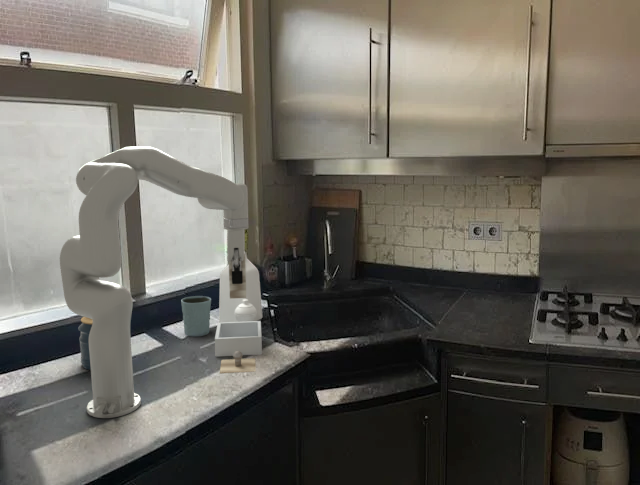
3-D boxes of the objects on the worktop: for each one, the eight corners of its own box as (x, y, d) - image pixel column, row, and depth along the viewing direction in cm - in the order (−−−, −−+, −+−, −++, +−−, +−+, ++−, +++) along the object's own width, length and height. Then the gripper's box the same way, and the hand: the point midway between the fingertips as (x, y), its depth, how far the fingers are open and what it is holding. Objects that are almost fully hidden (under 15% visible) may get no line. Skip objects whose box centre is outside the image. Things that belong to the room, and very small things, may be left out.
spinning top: (254, 328, 193) (253, 296, 191) (259, 335, 186) (258, 301, 184) (233, 330, 190) (232, 297, 188) (237, 337, 183) (236, 303, 181)
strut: (229, 298, 165) (228, 257, 163) (230, 294, 170) (229, 254, 168) (246, 297, 166) (245, 256, 164) (246, 293, 171) (245, 253, 169)
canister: (82, 358, 165) (78, 302, 162) (127, 352, 169) (123, 298, 167) (79, 374, 153) (75, 314, 150) (128, 367, 157) (124, 309, 155)
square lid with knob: (255, 376, 151) (255, 356, 150) (219, 378, 150) (219, 358, 149) (255, 362, 161) (255, 344, 160) (221, 364, 160) (221, 345, 159)
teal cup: (177, 335, 185) (175, 302, 183) (191, 326, 195) (189, 294, 193) (204, 338, 183) (203, 304, 181) (216, 328, 192) (215, 296, 190)
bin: (261, 358, 164) (261, 336, 163) (215, 361, 162) (214, 339, 161) (260, 340, 180) (260, 320, 179) (218, 342, 178) (217, 322, 177)
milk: (245, 326, 195) (243, 256, 190) (219, 322, 199) (216, 254, 195) (262, 317, 205) (261, 251, 201) (237, 314, 210) (235, 248, 206)
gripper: (224, 220, 172) (226, 275, 175) (222, 227, 156) (224, 288, 159) (248, 220, 173) (249, 275, 176) (248, 227, 157) (249, 287, 160)
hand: (237, 280), depth 167 cm, fingers closed on strut, 5 cm apart
